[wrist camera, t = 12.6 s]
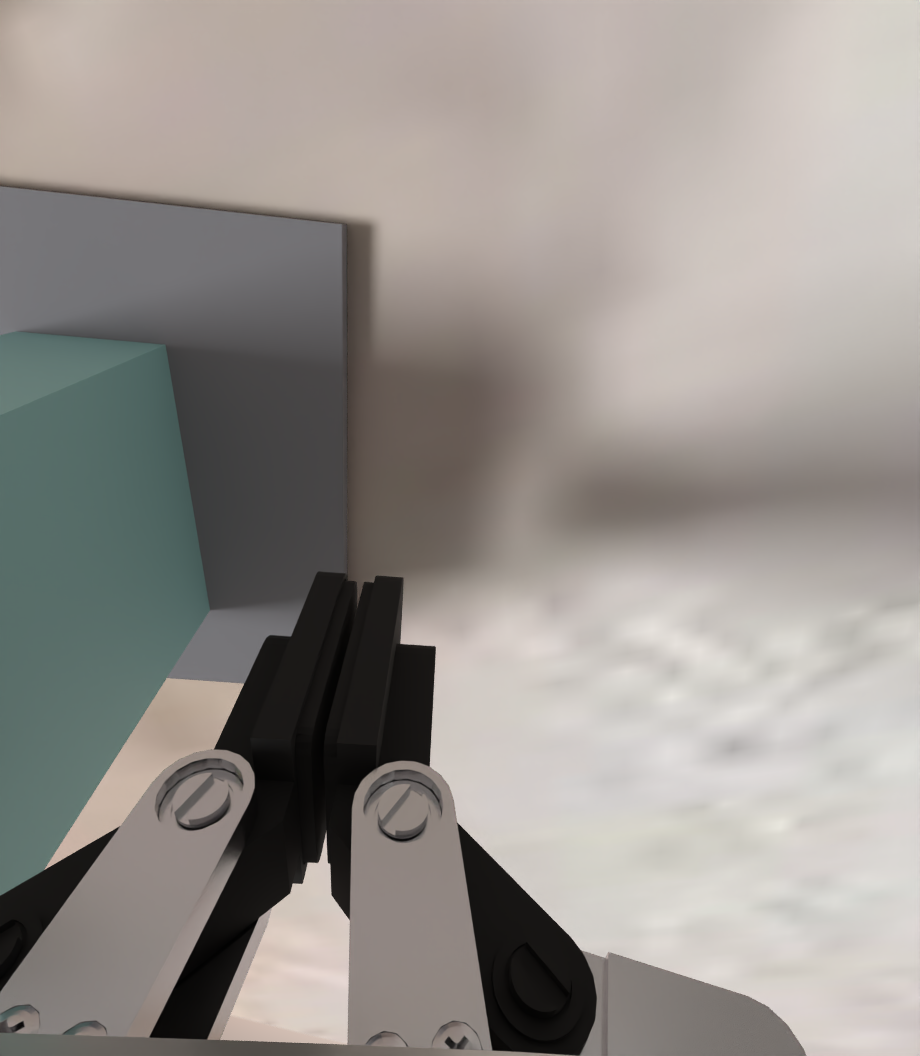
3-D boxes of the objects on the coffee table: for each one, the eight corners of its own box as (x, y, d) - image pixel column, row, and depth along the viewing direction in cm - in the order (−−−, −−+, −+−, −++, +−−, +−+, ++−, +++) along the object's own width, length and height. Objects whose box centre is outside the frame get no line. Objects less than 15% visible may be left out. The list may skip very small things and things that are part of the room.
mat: (-507, 129, 12) (-553, 125, 11) (346, 224, 13) (342, 224, 12) (-193, 638, 18) (-212, 650, 18) (347, 677, 19) (344, 690, 19)
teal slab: (15, 331, 13) (-678, 506, 5) (165, 344, 13) (-281, 535, 5) (94, 602, 17) (-229, 941, 9) (210, 610, 17) (-8, 950, 9)
